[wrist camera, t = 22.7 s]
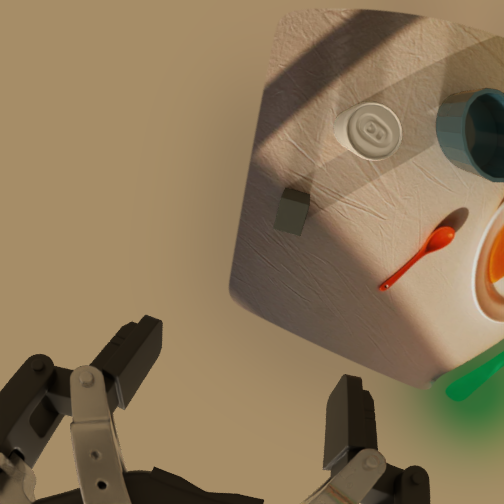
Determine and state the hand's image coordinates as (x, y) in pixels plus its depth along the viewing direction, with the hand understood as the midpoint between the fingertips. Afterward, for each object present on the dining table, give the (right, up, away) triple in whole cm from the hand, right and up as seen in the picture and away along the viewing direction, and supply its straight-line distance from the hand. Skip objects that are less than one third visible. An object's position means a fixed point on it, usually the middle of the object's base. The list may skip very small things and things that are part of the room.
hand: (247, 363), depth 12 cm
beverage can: (+12, +19, +18) cm, 29 cm away
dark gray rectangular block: (+5, +10, +23) cm, 26 cm away
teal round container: (+27, +19, +15) cm, 36 cm away
